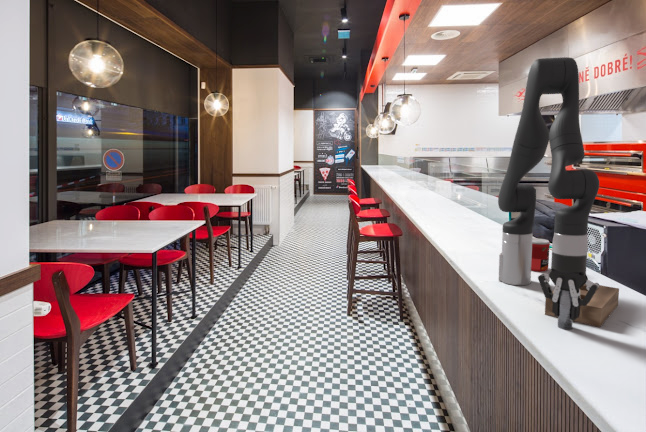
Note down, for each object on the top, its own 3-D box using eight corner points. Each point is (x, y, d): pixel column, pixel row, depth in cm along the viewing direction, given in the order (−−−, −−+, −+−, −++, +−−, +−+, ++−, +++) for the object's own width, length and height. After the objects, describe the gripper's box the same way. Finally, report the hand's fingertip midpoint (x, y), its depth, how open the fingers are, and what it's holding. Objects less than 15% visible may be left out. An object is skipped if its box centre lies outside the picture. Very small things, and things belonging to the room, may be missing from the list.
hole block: (544, 314, 115) (545, 296, 115) (567, 295, 129) (568, 279, 128) (600, 327, 106) (601, 308, 105) (617, 305, 120) (619, 288, 119)
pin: (555, 327, 107) (557, 289, 105) (559, 323, 109) (561, 286, 108) (569, 330, 105) (572, 292, 103) (573, 326, 107) (576, 288, 105)
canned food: (545, 273, 152) (546, 243, 151) (521, 269, 158) (523, 240, 156) (550, 268, 158) (552, 239, 156) (528, 265, 163) (529, 237, 162)
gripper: (533, 249, 106) (530, 314, 109) (598, 258, 96) (593, 329, 99) (543, 244, 111) (540, 306, 114) (606, 252, 102) (601, 320, 104)
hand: (565, 317), depth 106 cm, fingers closed on pin, 3 cm apart
